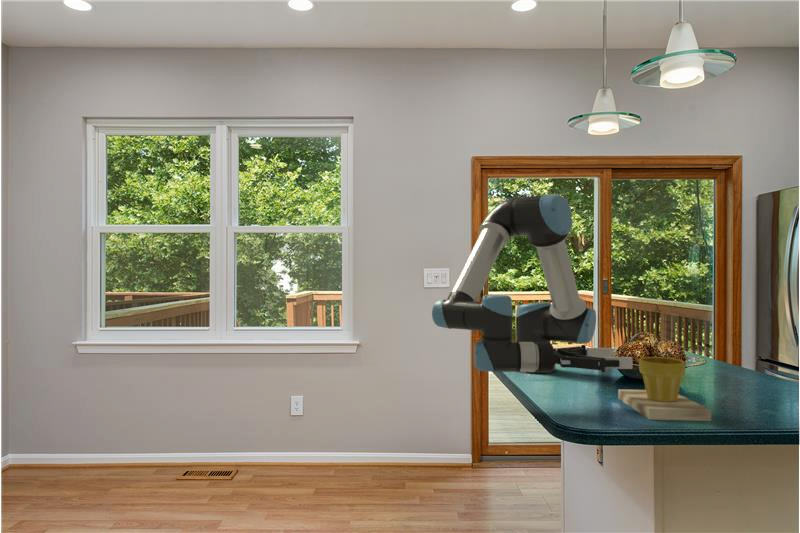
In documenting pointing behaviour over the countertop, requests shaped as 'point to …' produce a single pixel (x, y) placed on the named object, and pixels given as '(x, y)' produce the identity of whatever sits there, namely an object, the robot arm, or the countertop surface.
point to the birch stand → (664, 407)
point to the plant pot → (662, 377)
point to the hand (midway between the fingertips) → (621, 357)
